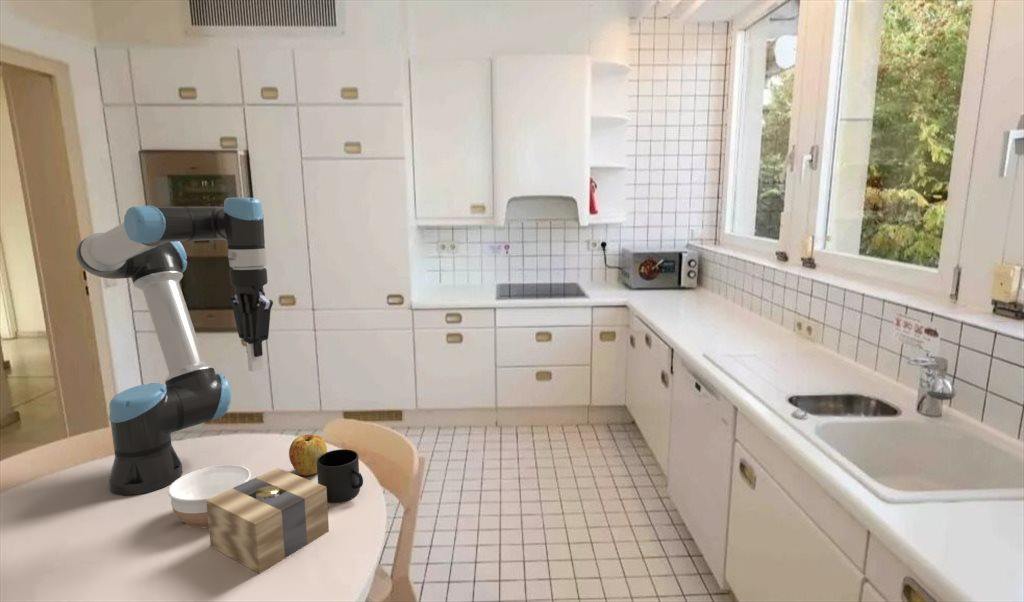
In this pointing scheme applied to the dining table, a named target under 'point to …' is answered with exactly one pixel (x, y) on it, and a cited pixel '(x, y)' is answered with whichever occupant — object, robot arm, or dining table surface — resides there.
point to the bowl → (203, 491)
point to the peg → (267, 493)
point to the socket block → (267, 519)
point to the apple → (306, 453)
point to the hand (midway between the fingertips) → (255, 369)
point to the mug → (339, 474)
